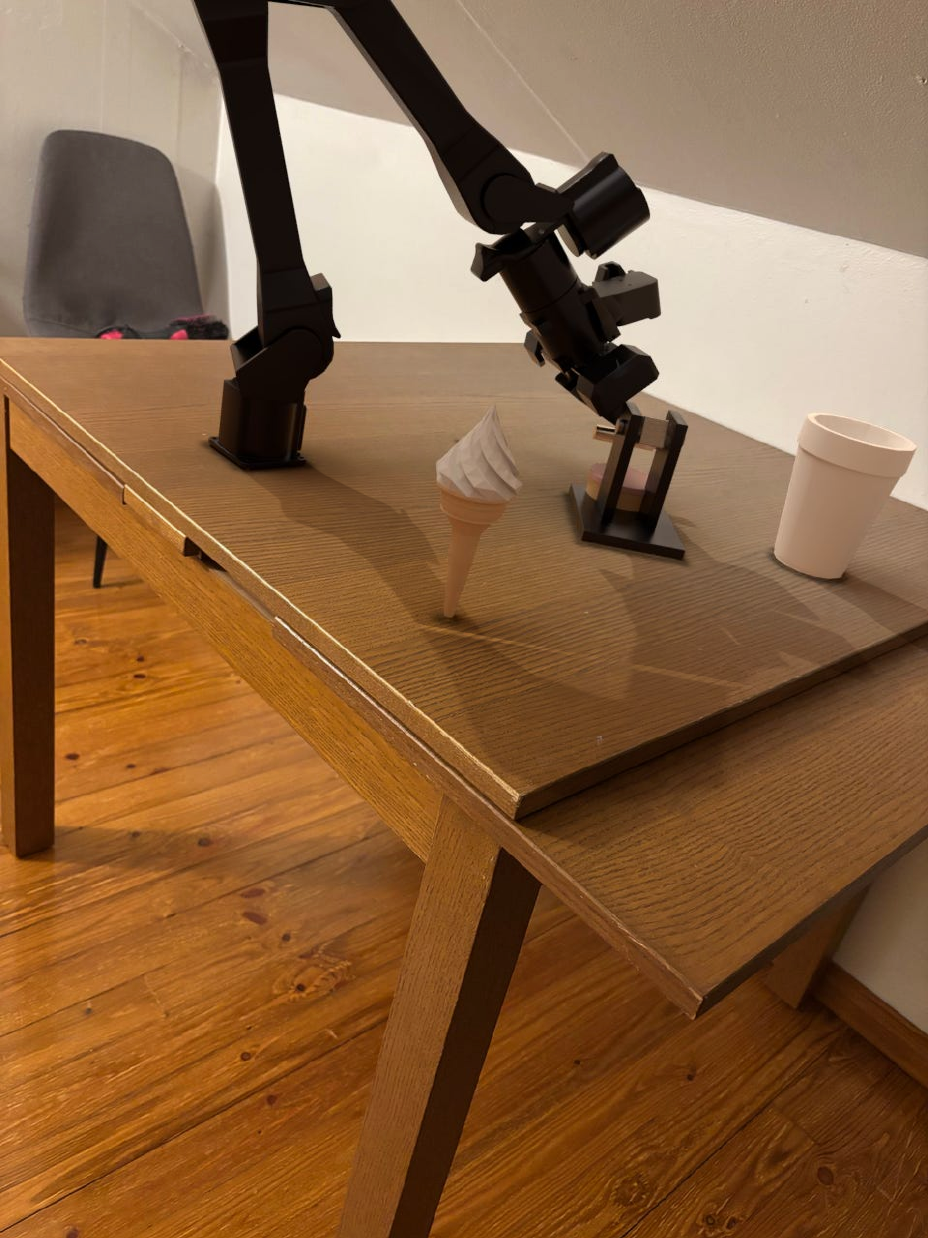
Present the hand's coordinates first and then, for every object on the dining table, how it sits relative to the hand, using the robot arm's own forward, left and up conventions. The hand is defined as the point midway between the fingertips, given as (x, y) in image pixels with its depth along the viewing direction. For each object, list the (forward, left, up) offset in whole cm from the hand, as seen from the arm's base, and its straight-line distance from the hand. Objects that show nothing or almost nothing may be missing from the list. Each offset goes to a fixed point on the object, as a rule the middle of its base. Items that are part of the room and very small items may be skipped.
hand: (624, 426), depth 95 cm
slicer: (-6, -7, -7) cm, 11 cm away
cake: (-3, -4, -7) cm, 8 cm away
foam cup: (+7, -19, -7) cm, 22 cm away
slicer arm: (-3, -4, -1) cm, 5 cm away
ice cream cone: (-34, -15, -7) cm, 38 cm away
